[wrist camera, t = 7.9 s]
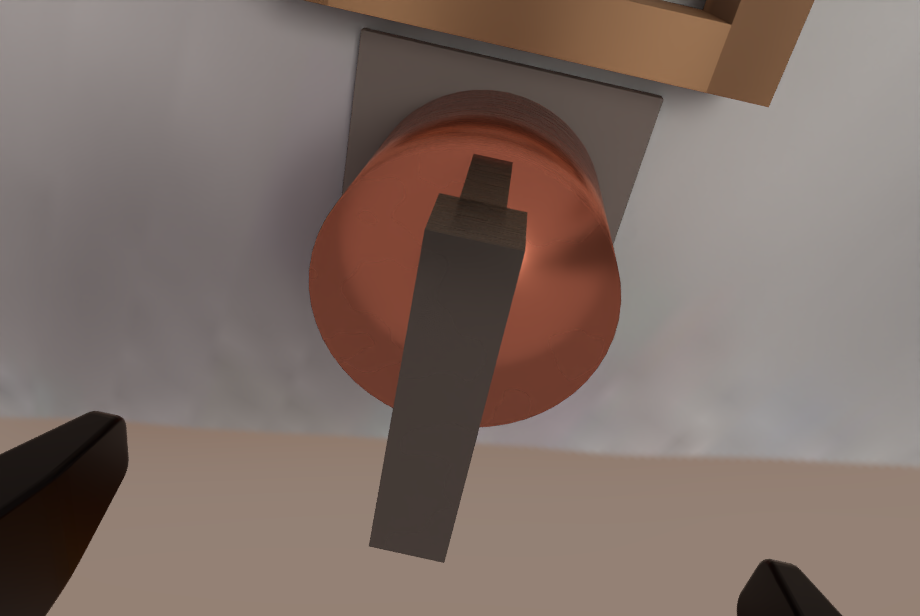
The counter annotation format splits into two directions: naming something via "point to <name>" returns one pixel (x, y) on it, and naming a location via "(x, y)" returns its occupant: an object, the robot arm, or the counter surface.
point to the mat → (452, 70)
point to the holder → (628, 35)
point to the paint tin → (464, 291)
